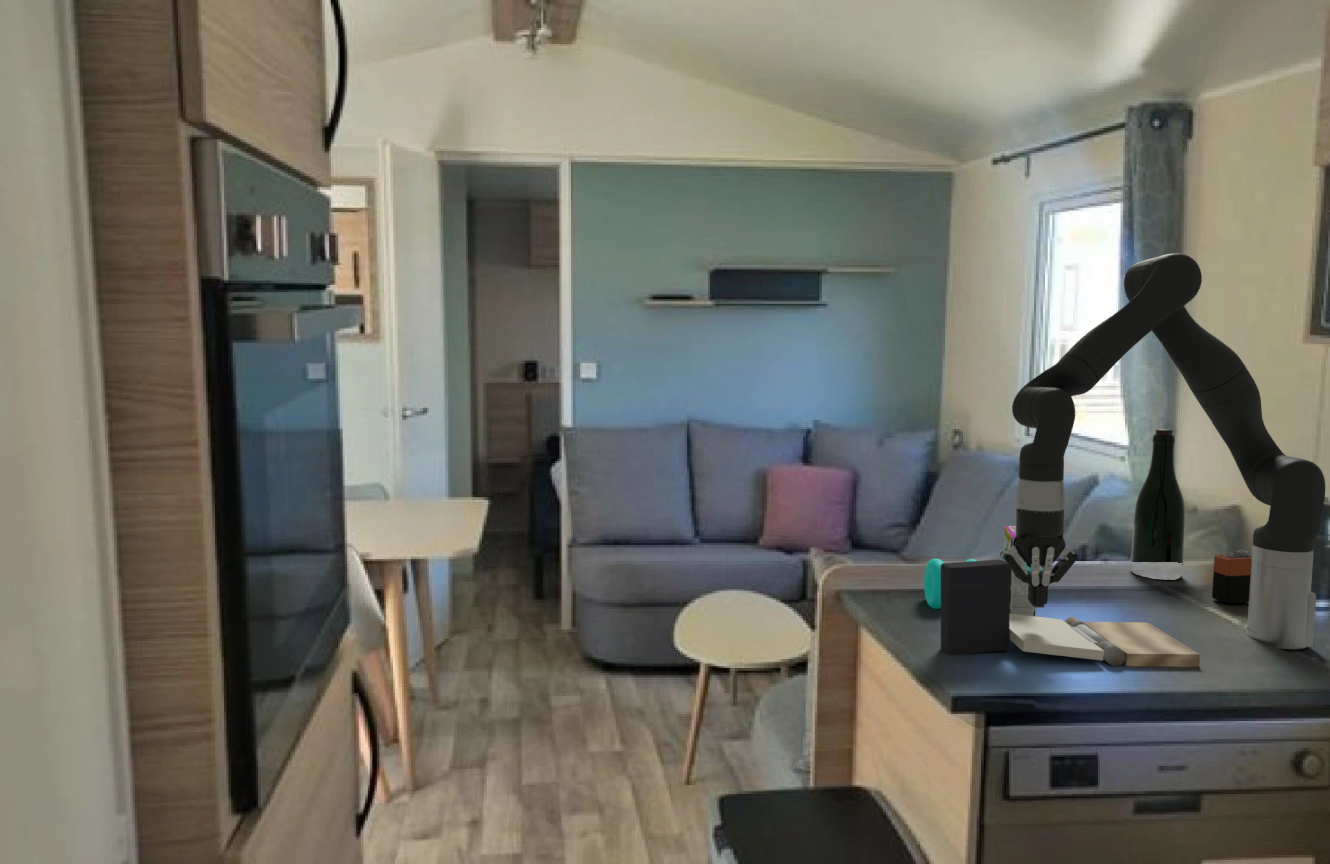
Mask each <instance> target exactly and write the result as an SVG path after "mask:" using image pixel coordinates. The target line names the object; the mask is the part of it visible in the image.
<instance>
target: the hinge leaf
mask: <svg viewBox="0 0 1330 864" xmlns="http://www.w3.org/2000/svg"><path fill="white" fill-rule="evenodd" d="M1009 641H1011V642H1012V643H1014V645H1016V647H1018V648H1019V649H1020V650H1021V651H1022V652H1026V653H1035V654H1044V655H1052V656H1060V657H1061V656H1062V657H1070V658H1077V659H1085V660H1086V659H1087V660H1095V661H1104V659H1103V656H1104V650H1102V649H1101V648H1100V647H1098V646H1097V645H1098V644H1099V643H1100V642H1102V641H1107V640H1106V639H1105V638H1103V637H1102V636H1100V635H1099V634H1098V633H1096V632H1095V631H1093V630H1092V629H1090V628H1089V627H1088V626H1086V625H1084V624H1080V625H1078V626H1076V627H1071V626H1070V625H1068V624H1067V623H1066V622H1065V620H1063V619H1062V618H1051V617H1044V616H1036V615H1035V616H1027V615H1019V614H1010V613H1009Z"/></svg>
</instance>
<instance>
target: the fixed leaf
mask: <svg viewBox="0 0 1330 864" xmlns="http://www.w3.org/2000/svg"><path fill="white" fill-rule="evenodd" d="M1064 622H1066V623H1067V624H1068V625H1070V626H1071V627H1076V626H1078V625H1080V624H1084V625H1086V626H1088V627H1089V628H1090V629H1092V630H1093V631H1095V632H1096V633H1098V634H1099V635H1100V636H1102V637H1103V638H1105V639H1106V640H1107V641H1102V642H1100V643H1099V644H1098V645H1097V646H1098V647H1100V648H1101V649H1102V650H1104V656H1103V661H1105V662H1106V663H1107V664H1109V665H1111V666H1113V667H1119V666H1121V665H1122V664H1123V665H1124V666H1125V667H1156V668H1157V667H1159V668H1160V667H1161V668H1166V667H1167V668H1169V667H1170V668H1177V667H1179V668H1200V662H1201V653H1199V652H1197V651H1195V650H1194V649H1192V648H1190V647H1189V646H1188V645H1186V644H1184V643H1183V642H1180V641H1179V640H1177V639H1176V638H1174V637H1173V636H1170V635H1169V634H1167V633H1166V632H1164V631H1163V630H1161V629H1159V628H1158V627H1156V626H1154V625H1152V624H1151V623H1149V622H1140V621H1137V622H1134V621H1130V622H1129V621H1125V622H1124V621H1120V622H1119V621H1115V622H1114V621H1081V620H1080V619H1079V618H1077V617H1075V616H1070V617H1069V616H1068V617H1066V619H1065V620H1064Z"/></svg>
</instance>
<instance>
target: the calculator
mask: <svg viewBox="0 0 1330 864" xmlns="http://www.w3.org/2000/svg"><path fill="white" fill-rule="evenodd" d="M1011 572H1012V567H1011V564H1009V563H1007V562H1004V561H1003V559H987V560H977V561H970V562H965V561H959V562H956V561H955V562H944V563H943V564H941V609H940V650H942V651H943V652H945V653H946V654H947V655H969V654H979V653H981V654H982V653H991V652H1002V651H1008V650H1009V649H1010V639H1009V612H1010V588H1011Z"/></svg>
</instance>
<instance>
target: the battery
mask: <svg viewBox="0 0 1330 864" xmlns="http://www.w3.org/2000/svg"><path fill="white" fill-rule="evenodd" d="M1213 559H1214V560H1213V574H1212V591H1211V593H1212V595H1211V598H1212V599H1213V600H1216V601H1219V602H1222V603H1224V604H1238V603H1239V604H1240V603H1249V592H1250V577H1251V561H1252V555H1249V551H1247V550H1236V553H1233V552H1228V551H1224V552H1223V554H1216V555H1215V554H1214V557H1213Z"/></svg>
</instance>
